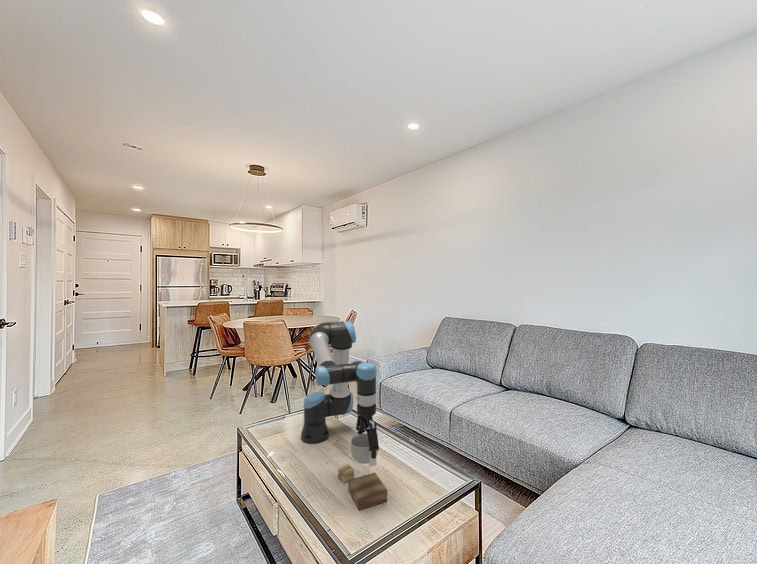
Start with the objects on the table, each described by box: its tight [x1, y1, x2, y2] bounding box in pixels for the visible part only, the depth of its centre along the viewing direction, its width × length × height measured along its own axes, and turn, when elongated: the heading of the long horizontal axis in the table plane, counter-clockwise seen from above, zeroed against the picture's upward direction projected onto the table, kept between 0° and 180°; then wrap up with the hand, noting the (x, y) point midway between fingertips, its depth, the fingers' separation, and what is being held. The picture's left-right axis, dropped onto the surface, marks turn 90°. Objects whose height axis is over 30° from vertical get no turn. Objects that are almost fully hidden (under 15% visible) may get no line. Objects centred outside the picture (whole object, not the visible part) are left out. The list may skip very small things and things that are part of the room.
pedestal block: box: [347, 472, 388, 513], centre depth 132 cm, size 12×12×5 cm
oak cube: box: [337, 463, 355, 484], centre depth 144 cm, size 5×5×5 cm
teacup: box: [349, 433, 379, 465], centre depth 132 cm, size 14×11×8 cm
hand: (367, 457), depth 131 cm, fingers closed on teacup, 11 cm apart
